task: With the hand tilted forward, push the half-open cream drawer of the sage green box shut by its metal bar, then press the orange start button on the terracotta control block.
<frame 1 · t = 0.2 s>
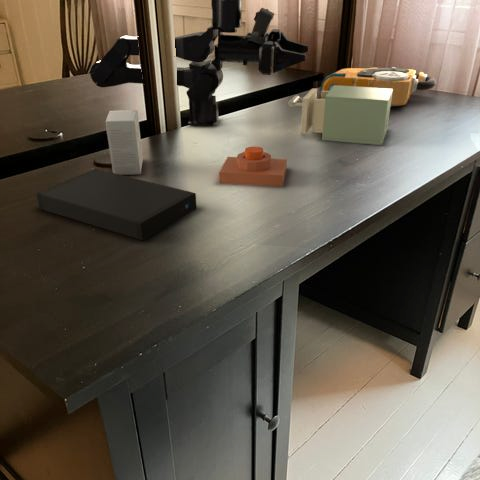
hand: (307, 53, 123), 16 cm above the table, tool horizontal, fingers open, 9 cm apart
drawer: (324, 111, 125), point 5 cm above the table, slide at 4.0 cm
start button: (254, 153, 102), point 4 cm above the table, slide at 0.1 cm
small box: (128, 169, 109), on the table
external hard drive: (118, 210, 92), on the table
control block: (253, 176, 104), on the table
sage green box: (355, 135, 126), on the table
device: (377, 100, 154), on the table
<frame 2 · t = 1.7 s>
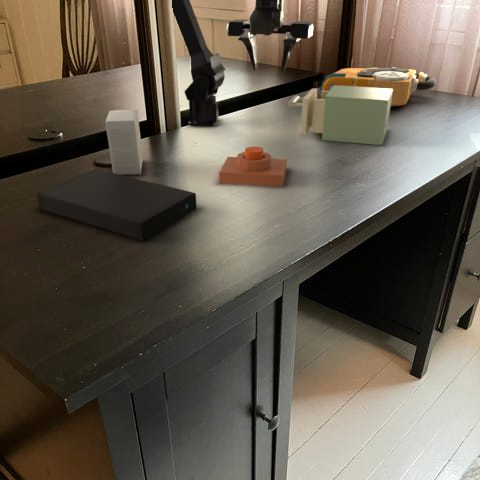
hand: (268, 70, 124), 13 cm above the table, tool pointing down, fingers open, 6 cm apart
nothing on the table moved.
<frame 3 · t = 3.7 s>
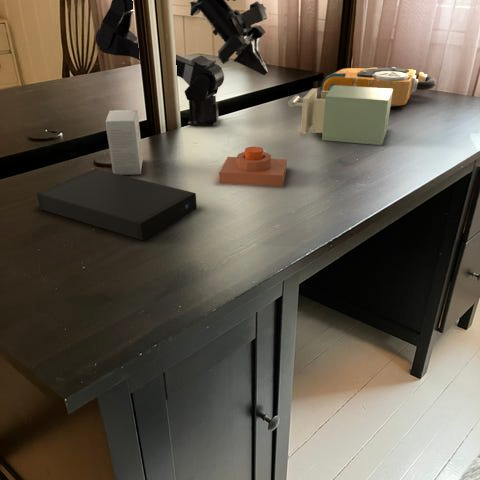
hand: (266, 73, 124), 12 cm above the table, tool tilted 45°, fingers closed
nothing on the table moved.
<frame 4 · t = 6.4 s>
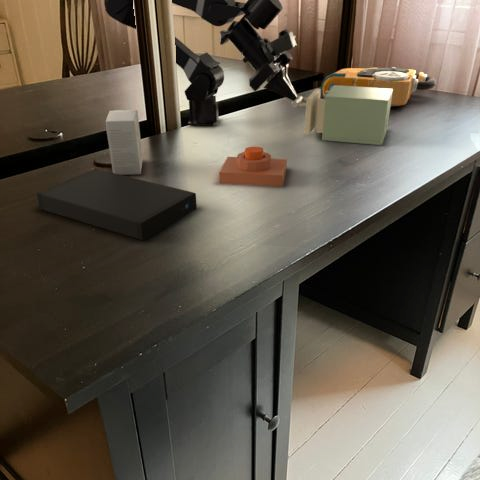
hand: (295, 99, 126), 7 cm above the table, tool tilted 45°, fingers closed, pressing on drawer
drawer: (328, 112, 125), point 5 cm above the table, slide at 3.1 cm, touching gripper
everything else where it was.
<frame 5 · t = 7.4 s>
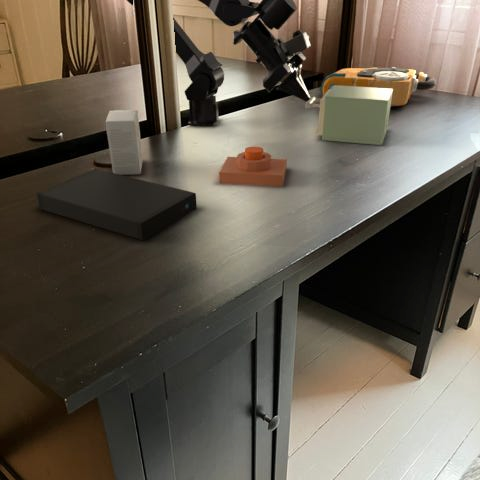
hand: (308, 99, 125), 7 cm above the table, tool tilted 45°, fingers closed, pressing on drawer
drawer: (341, 113, 124), point 5 cm above the table, slide at 0.0 cm, touching sage green box, gripper
everything else where it was.
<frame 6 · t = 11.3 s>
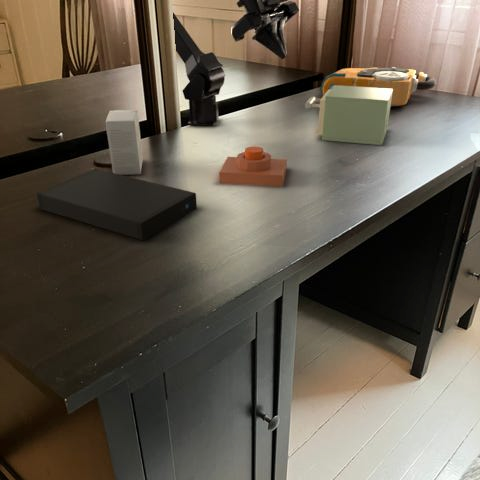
hand: (284, 57, 117), 17 cm above the table, tool tilted 35°, fingers closed
drawer: (341, 113, 124), point 5 cm above the table, slide at 0.0 cm, touching sage green box
everything else where it was.
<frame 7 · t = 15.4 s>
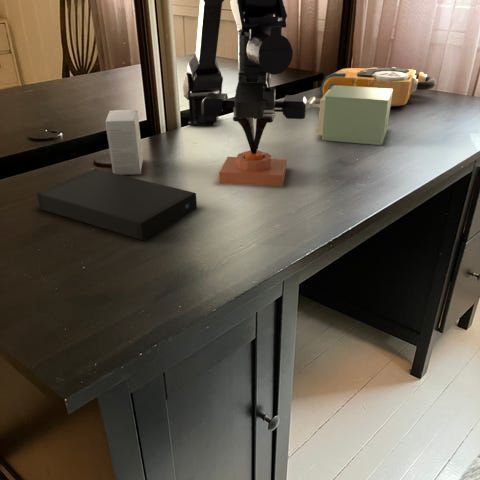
hand: (254, 152, 102), 5 cm above the table, tool pointing down, fingers closed, pressing on start button
start button: (254, 157, 102), point 4 cm above the table, slide at -0.6 cm, touching gripper
everything else where it was.
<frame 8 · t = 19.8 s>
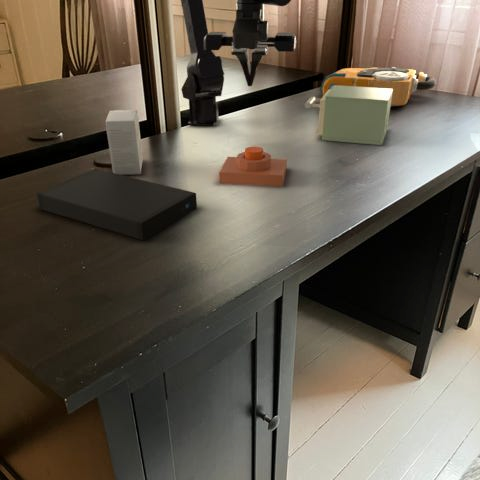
hand: (250, 85, 116), 12 cm above the table, tool pointing down, fingers closed
start button: (254, 153, 102), point 4 cm above the table, slide at 0.1 cm
everything else where it was.
at the end: drawer slide at 0.0 cm; start button pushed in 1.1 cm at the most during the clip, back to where it started at the end; start button slide at 0.1 cm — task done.
